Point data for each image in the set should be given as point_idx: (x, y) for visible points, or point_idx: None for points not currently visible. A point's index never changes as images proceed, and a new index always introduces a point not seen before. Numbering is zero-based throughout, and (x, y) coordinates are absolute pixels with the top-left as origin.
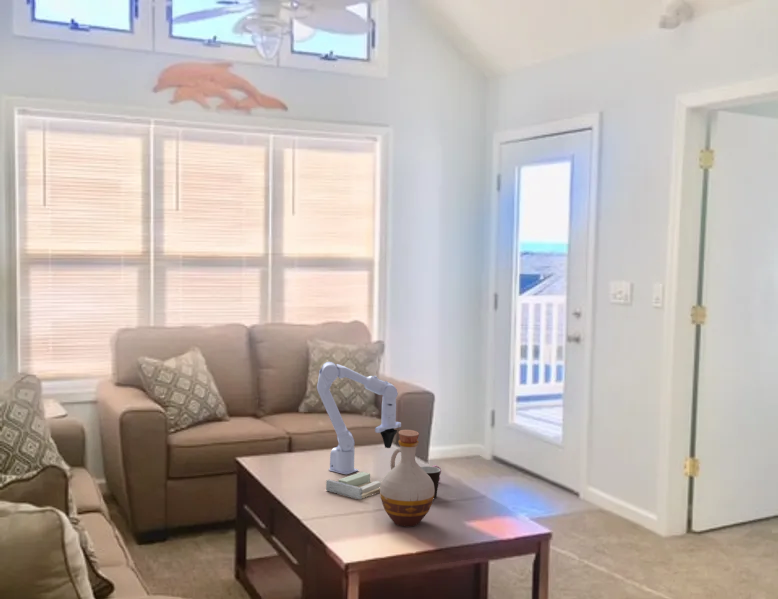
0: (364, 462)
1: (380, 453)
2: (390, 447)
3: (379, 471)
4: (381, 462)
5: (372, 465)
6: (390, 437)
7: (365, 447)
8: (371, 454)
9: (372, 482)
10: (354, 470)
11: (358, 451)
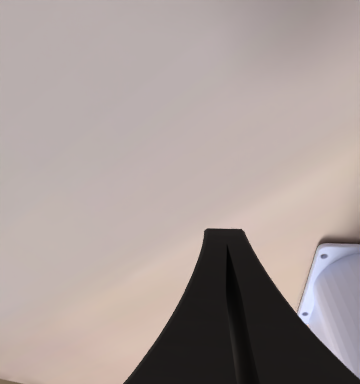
0: (167, 292)
1: (7, 314)
2: (213, 230)
3: (258, 165)
4: (105, 248)
5: (182, 249)
6: (285, 338)
7: (8, 371)
8: (51, 326)
9: None
10: (351, 252)
11: (66, 364)
